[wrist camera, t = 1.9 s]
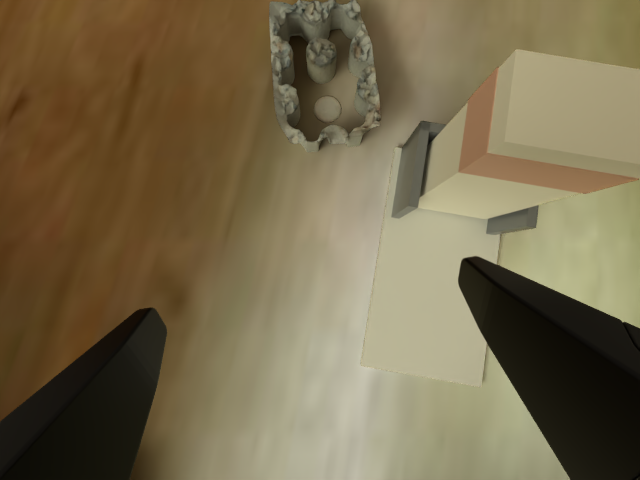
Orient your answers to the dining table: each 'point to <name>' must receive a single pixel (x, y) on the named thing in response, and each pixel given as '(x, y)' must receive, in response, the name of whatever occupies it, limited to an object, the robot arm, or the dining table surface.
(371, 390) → the dining table surface
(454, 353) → the box holder
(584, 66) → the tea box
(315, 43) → the grey lumpy piece
